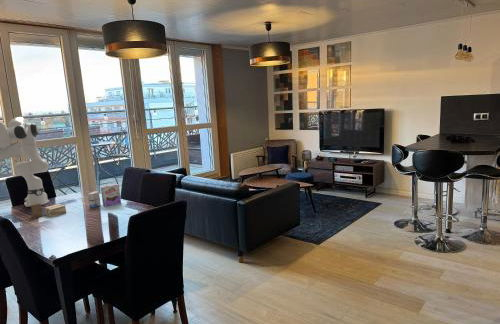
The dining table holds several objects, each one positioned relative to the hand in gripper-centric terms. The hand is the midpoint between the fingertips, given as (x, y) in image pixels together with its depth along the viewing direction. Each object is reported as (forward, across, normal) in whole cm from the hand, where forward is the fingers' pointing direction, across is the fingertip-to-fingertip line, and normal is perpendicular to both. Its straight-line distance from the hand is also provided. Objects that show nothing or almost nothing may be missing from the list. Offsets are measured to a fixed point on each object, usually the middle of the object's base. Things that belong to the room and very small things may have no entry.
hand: (11, 163), depth 244 cm
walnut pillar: (+43, +5, -17) cm, 46 cm away
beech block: (+45, -7, -22) cm, 50 cm away
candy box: (+51, -44, -38) cm, 78 cm away
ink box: (+48, -31, -36) cm, 68 cm away
